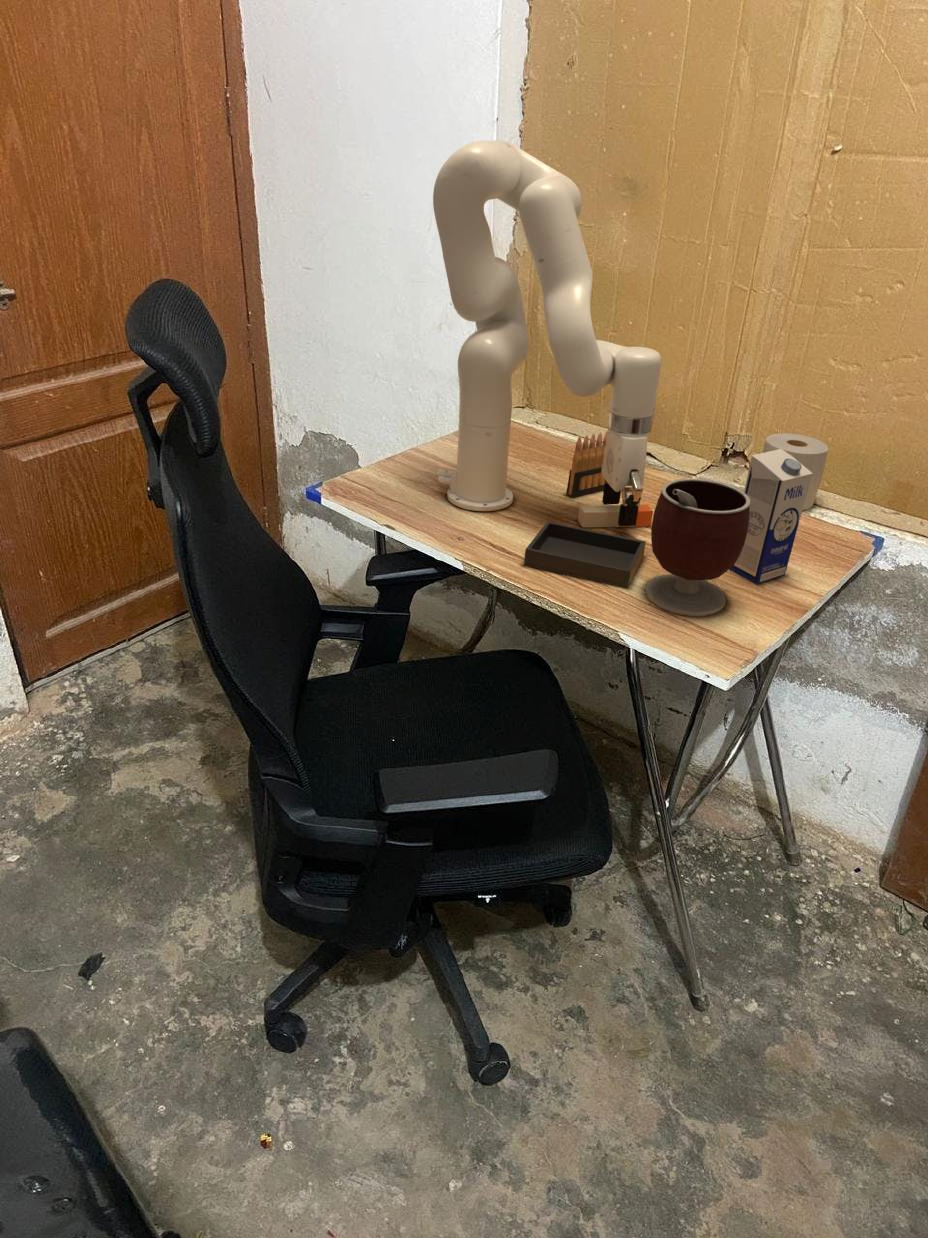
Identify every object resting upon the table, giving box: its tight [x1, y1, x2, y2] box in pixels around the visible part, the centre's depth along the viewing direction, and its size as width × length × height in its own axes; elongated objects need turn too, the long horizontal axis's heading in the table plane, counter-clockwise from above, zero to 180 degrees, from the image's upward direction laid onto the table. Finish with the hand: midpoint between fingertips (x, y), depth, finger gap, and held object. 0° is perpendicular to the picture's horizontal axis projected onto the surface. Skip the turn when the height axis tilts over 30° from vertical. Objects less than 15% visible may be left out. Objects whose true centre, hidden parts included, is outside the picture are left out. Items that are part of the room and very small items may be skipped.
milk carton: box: [729, 449, 813, 585], centre depth 140 cm, size 7×7×20 cm
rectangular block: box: [577, 503, 654, 529], centre depth 158 cm, size 13×3×3 cm, turn 98°
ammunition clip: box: [566, 430, 608, 499], centre depth 169 cm, size 11×2×12 cm, turn 124°
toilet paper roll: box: [761, 432, 829, 511], centre depth 170 cm, size 12×12×12 cm
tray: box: [523, 521, 647, 589], centre depth 144 cm, size 17×12×3 cm
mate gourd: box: [645, 478, 750, 617], centre depth 130 cm, size 16×14×20 cm
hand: (618, 514), depth 158 cm, fingers open, 9 cm apart
